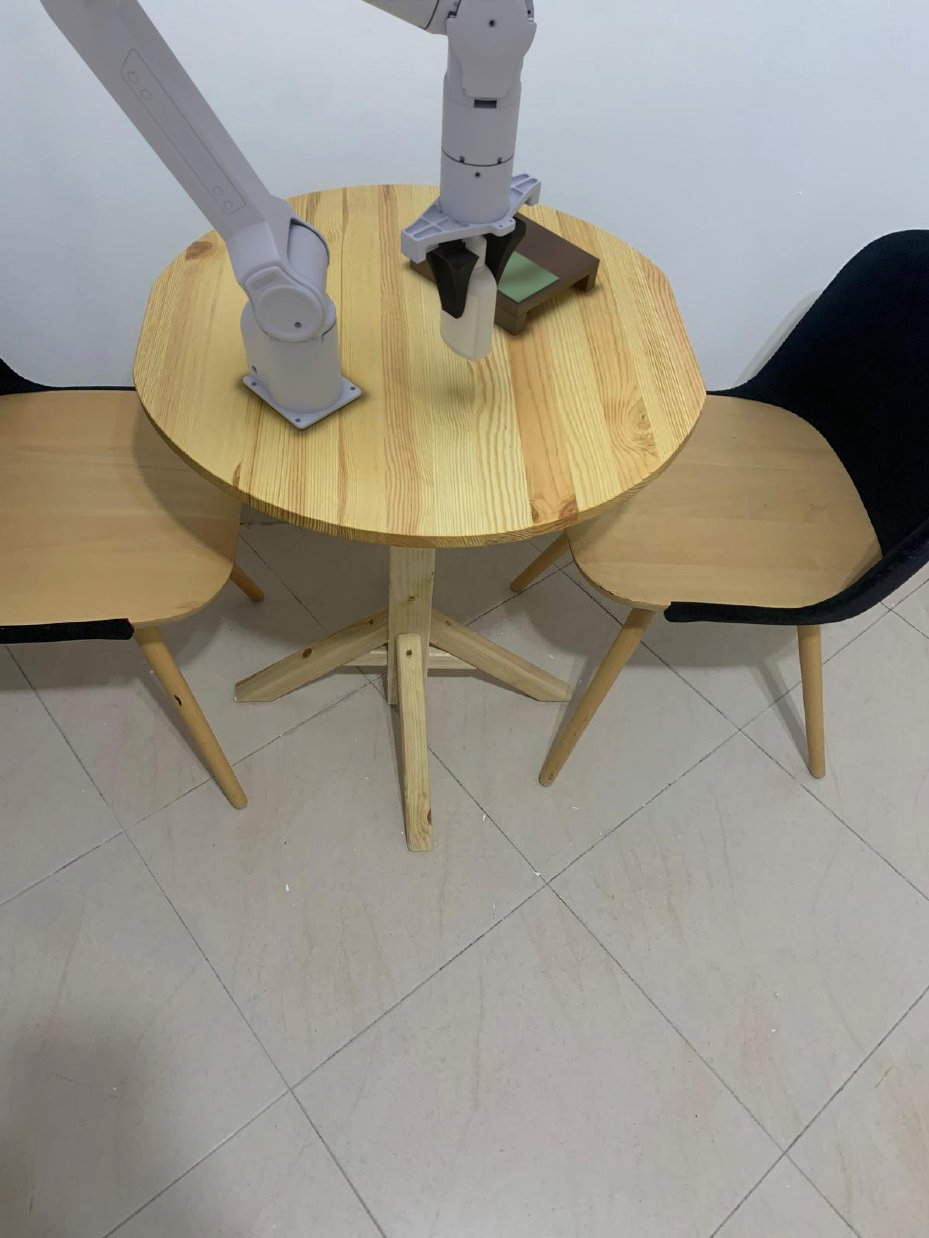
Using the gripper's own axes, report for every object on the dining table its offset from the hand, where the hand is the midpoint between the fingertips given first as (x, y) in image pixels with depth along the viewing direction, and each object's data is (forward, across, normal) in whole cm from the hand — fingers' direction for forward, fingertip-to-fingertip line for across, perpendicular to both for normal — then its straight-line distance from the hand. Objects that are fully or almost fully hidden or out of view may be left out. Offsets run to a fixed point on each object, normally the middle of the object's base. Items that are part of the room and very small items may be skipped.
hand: (467, 304), depth 71 cm
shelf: (+10, +18, +12) cm, 24 cm away
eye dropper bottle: (+5, 0, 0) cm, 5 cm away
